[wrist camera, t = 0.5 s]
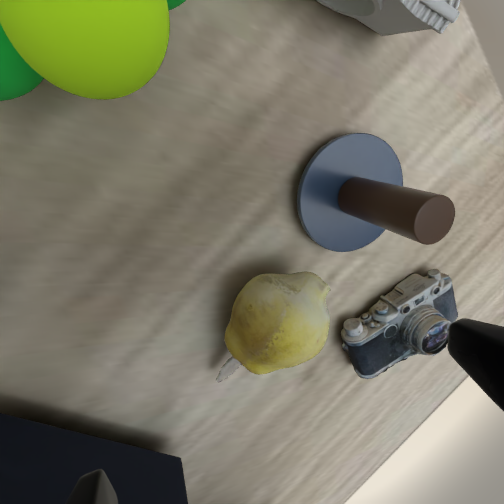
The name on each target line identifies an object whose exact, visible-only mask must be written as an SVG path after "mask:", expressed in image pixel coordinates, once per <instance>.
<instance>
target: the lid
mask: <svg viewBox="0 0 504 504" xmlns="http://www.w3.org/2000/svg"><path fill="white" fill-rule="evenodd" d="M297 209H298V215H299V219H300V222H301V224H302V226H303V228H304V230H305V232H306V233H307V235H308V236H309V237H310V238H311V239H312V240H313V241H315V242H316V243H317V244H319V245H320V246H322V247H324V248H326V249H329V250H332V251H337V252H347V251H353V250H357V249H359V248H362V247H364V246H366V245H368V244H369V243H371V242H372V241H374V240H375V239H376V238H378V237H379V236H380V235H381V234H382V233H383V232H384V231H385V229H387V230H389V231H392V232H394V233H397V234H399V235H402V236H404V237H407V238H409V239H412V240H414V241H417V242H419V243H422V244H426V245H428V244H434V243H436V242H438V241H440V240H441V239H442V238H444V237H445V235H446V234H447V233H448V232H449V230H450V228H451V226H452V224H453V221H454V216H455V208H454V205H453V203H452V201H451V200H450V199H449V198H448V197H446V196H444V195H440V194H435V193H431V192H426V191H421V190H417V189H412V188H407V187H403V176H402V169H401V166H400V162H399V160H398V158H397V155H396V154H395V152H394V151H393V149H392V148H391V147H390V146H389V145H388V144H387V143H386V142H385V141H384V140H382V139H380V138H379V137H377V136H374V135H371V134H366V133H350V134H345V135H342V136H339V137H337V138H334V139H332V140H331V141H329V142H328V143H326V144H325V145H324V146H323V147H321V148H320V149H319V150H318V151H317V152H316V153H315V154H314V156H313V157H312V158H311V160H310V161H309V163H308V164H307V166H306V168H305V170H304V172H303V174H302V177H301V180H300V183H299V187H298V193H297Z"/></svg>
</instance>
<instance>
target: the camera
mask: <svg viewBox="0 0 504 504" xmlns="http://www.w3.org/2000/svg"><path fill="white" fill-rule="evenodd" d="M457 317H458V312H457V309H456V303H455V298H454V291H453V286H452V281H451V278H450V277H449V276H448V275H446V274H443V273H440V271H439V270H438V269H433V270H429V271H428V275H427V276H425V277H422V276H420V275H418V274H411V275H410V276H408V277H407V278H406V279H405V280H403V281H402V282H400V283H399V284H397V285H396V287H394V289H393V290H392V291H391V292H390V293H388V294H387V295H385V296H383V295H381V297H380V300H379V301H378V302H377V303H376V304H375V305H373V306H372V307H371V308H370V309H369V312H367V313H364V314H362V315H361V316H360V317H359V318H358V319H357V318H350V319H347V320H346V321H345V322H344V324H343V326H344V328H343V330H342V331H341V337H342V340H343V345H342V348H343V350H344V351H347V352H348V355H349V357H350V360H351V362H352V364H353V367H354V370H355V371H356V373H357V374H358V375H359V377H361V378H365V379H369V378H374V377H376V376H378V375H379V374H380V373H382V372H385V371H386V370H387V369H388V368H390V367H392V366H393V365H394V364H395V363H398V362H400V361H402V360H406V359H407V358H408V357H409V356H412V355H416V354H424V355H431V356H434V355H436V354H437V353H439V352H440V351H442V350H443V349H444V348H445V347H446V344H447V343H448V331H449V325H450V324H451V323H453V322H455V321H456V318H457Z"/></svg>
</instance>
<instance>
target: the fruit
mask: <svg viewBox="0 0 504 504" xmlns="http://www.w3.org/2000/svg"><path fill="white" fill-rule="evenodd" d="M329 291H331V290H330V287H329V286H328V285H327V284H326V283H325V282H324V281H323V280H322V279H321V278H320V277H318V276H317V275H316V274H314V273H311V272H301V273H299V272H298V273H294V274H289V275H287V274H261V275H258V276H256V277H254V278H253V279H251V280H250V281H249V282H248V283H247V284H246V285H245V286H244V287H243V289H242V290H241V291H240V292H239V294H238V296H237V298H236V300H235V302H234V304H233V308H232V313H231V320H230V323H229V325H228V326H227V328H226V332H225V337H224V340H225V343H226V346H227V348H228V350H229V352H230V353H231V355H232V357H231V358H229V359H228V360H227V361H226V363H225V364H224V365H223V366H222V367H221V370H220V373H219V374H218V377H217V378H216V381H218V382H221V381H223V380H224V379H226V378H227V377H228V376H230V375H231V374H232V373H233V372H234V371H235V370H236V369H238V368H239V366H240V365H243V366H244V367H246V369H247V370H249V371H250V372H252V373H254V374H266V373H270V372H273V371H275V370H278V369H283V368H289V367H293V366H296V365H299V364H301V363H303V362H306V361H308V360H310V359H312V358H313V357H315V356H316V355H317V354H318V353H319V352H320V351H321V349H322V348H323V346H324V344H325V342H326V339H327V336H328V331H329V324H330V315H329V312H328V309H327V306H326V301H325V298H326V295H327V293H328V292H329Z"/></svg>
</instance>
